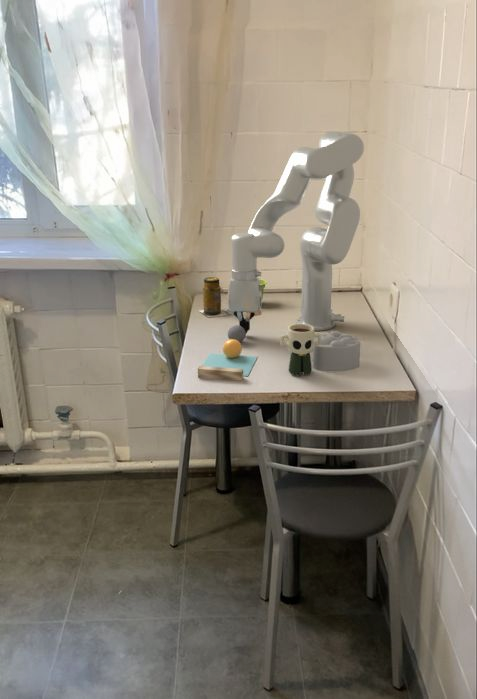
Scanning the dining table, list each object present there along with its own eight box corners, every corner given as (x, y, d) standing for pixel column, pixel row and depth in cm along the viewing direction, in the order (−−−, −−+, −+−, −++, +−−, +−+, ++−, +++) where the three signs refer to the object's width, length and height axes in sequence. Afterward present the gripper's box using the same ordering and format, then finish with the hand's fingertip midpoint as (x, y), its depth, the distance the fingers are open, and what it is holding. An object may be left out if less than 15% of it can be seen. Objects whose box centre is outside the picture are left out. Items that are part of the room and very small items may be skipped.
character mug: (281, 379, 176) (282, 333, 171) (278, 368, 182) (278, 324, 178) (322, 377, 177) (324, 331, 172) (317, 367, 183) (319, 322, 178)
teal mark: (257, 357, 190) (257, 356, 190) (247, 376, 178) (247, 375, 178) (210, 353, 193) (210, 353, 193) (197, 372, 180) (197, 372, 180)
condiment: (217, 308, 234) (216, 275, 229) (227, 315, 226) (227, 281, 222) (198, 311, 231) (197, 277, 226) (208, 318, 223) (207, 283, 219)
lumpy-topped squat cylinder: (311, 357, 190) (312, 328, 187) (357, 357, 189) (358, 329, 186) (313, 371, 181) (314, 341, 177) (361, 372, 180) (363, 342, 177)
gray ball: (240, 325, 196) (243, 343, 197) (247, 323, 201) (249, 340, 202) (223, 327, 199) (226, 345, 199) (230, 325, 204) (233, 342, 204)
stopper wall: (243, 377, 177) (243, 369, 176) (241, 380, 175) (241, 372, 174) (200, 374, 179) (199, 365, 178) (198, 377, 178) (197, 368, 177)
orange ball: (241, 336, 187) (238, 354, 185) (244, 344, 192) (241, 361, 190) (222, 335, 188) (219, 353, 186) (225, 342, 193) (223, 360, 191)
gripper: (270, 272, 201) (270, 329, 208) (222, 270, 204) (224, 326, 211) (266, 279, 194) (266, 337, 201) (217, 277, 197) (218, 334, 204)
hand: (244, 332), depth 206 cm, fingers closed
